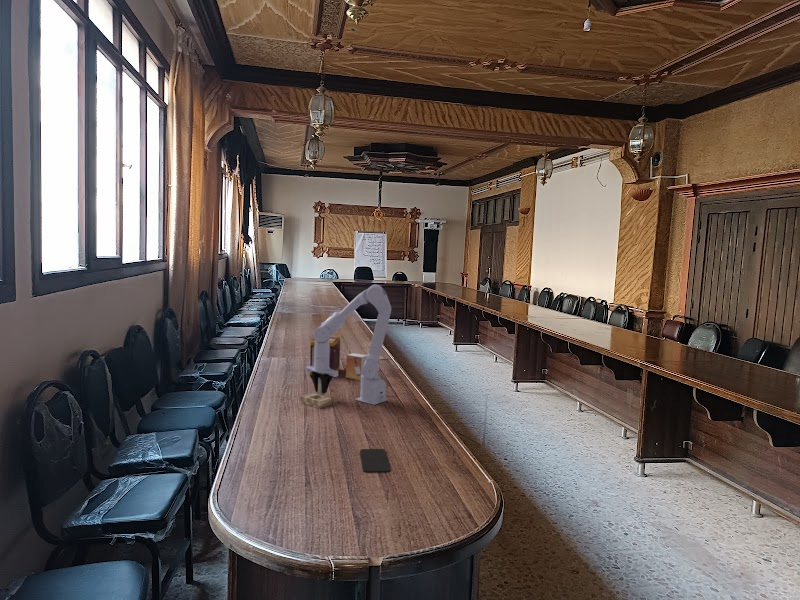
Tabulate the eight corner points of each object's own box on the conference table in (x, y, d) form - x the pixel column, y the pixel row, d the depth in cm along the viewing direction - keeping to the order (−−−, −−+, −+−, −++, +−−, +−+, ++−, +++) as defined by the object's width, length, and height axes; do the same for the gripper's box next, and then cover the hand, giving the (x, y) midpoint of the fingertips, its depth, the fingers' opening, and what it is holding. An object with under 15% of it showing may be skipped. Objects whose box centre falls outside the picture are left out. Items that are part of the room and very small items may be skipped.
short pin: (339, 401, 204) (339, 391, 204) (334, 403, 202) (334, 392, 202) (334, 400, 206) (334, 390, 205) (329, 401, 203) (329, 391, 203)
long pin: (325, 397, 208) (326, 378, 207) (321, 398, 206) (321, 379, 205) (320, 395, 210) (321, 376, 209) (316, 397, 207) (316, 378, 207)
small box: (345, 378, 239) (346, 354, 238) (352, 375, 244) (353, 352, 243) (360, 380, 235) (361, 357, 234) (367, 378, 240) (368, 354, 239)
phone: (362, 471, 143) (359, 449, 157) (362, 474, 143) (359, 451, 158) (390, 470, 144) (384, 448, 159) (390, 473, 144) (384, 451, 159)
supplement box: (339, 369, 255) (340, 336, 253) (332, 377, 240) (333, 342, 238) (318, 367, 256) (318, 335, 254) (309, 375, 241) (310, 341, 239)
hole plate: (331, 404, 200) (331, 398, 200) (319, 408, 195) (319, 401, 195) (311, 399, 206) (311, 392, 206) (300, 402, 201) (300, 396, 201)
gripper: (343, 358, 206) (342, 393, 207) (314, 353, 213) (313, 386, 215) (331, 361, 200) (331, 397, 201) (301, 356, 207) (301, 390, 209)
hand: (321, 392), depth 208 cm, fingers closed on long pin, 3 cm apart
